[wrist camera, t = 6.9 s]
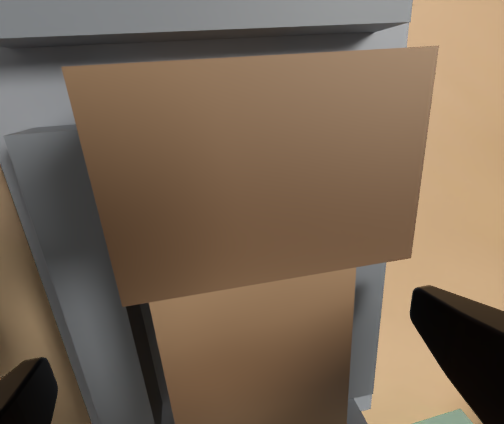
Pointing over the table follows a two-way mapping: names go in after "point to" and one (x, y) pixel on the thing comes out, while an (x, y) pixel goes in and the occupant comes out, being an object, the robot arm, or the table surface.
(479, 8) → the table surface
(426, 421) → the pale teal rectangular block
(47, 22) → the jig
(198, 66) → the tan flanged beam
